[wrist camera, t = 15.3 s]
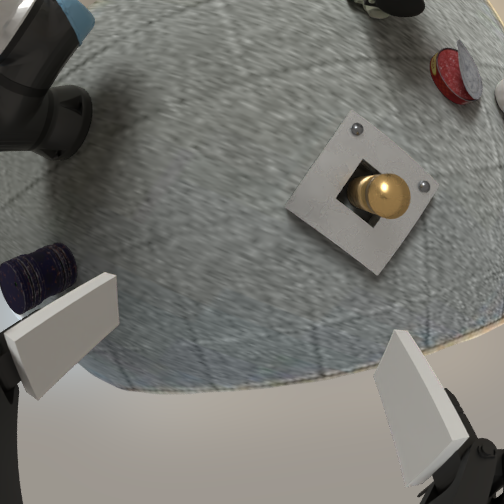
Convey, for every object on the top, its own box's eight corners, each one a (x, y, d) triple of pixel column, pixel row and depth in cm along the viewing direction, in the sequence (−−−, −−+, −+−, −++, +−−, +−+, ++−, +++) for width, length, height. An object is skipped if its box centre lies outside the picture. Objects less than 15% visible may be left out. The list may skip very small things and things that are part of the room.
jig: (284, 204, 38) (283, 207, 34) (346, 115, 33) (352, 108, 29) (370, 268, 38) (378, 277, 34) (428, 184, 34) (441, 184, 30)
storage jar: (60, 292, 49) (14, 320, 34) (43, 252, 47) (-7, 272, 33) (84, 278, 47) (32, 307, 32) (64, 234, 45) (9, 252, 31)
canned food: (433, 61, 31) (463, 33, 22) (468, 103, 31) (502, 80, 22) (411, 68, 29) (446, 32, 19) (453, 119, 29) (494, 90, 19)
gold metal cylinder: (340, 195, 36) (361, 200, 25) (358, 169, 35) (385, 163, 24) (365, 215, 37) (394, 228, 25) (383, 189, 35) (418, 192, 24)
